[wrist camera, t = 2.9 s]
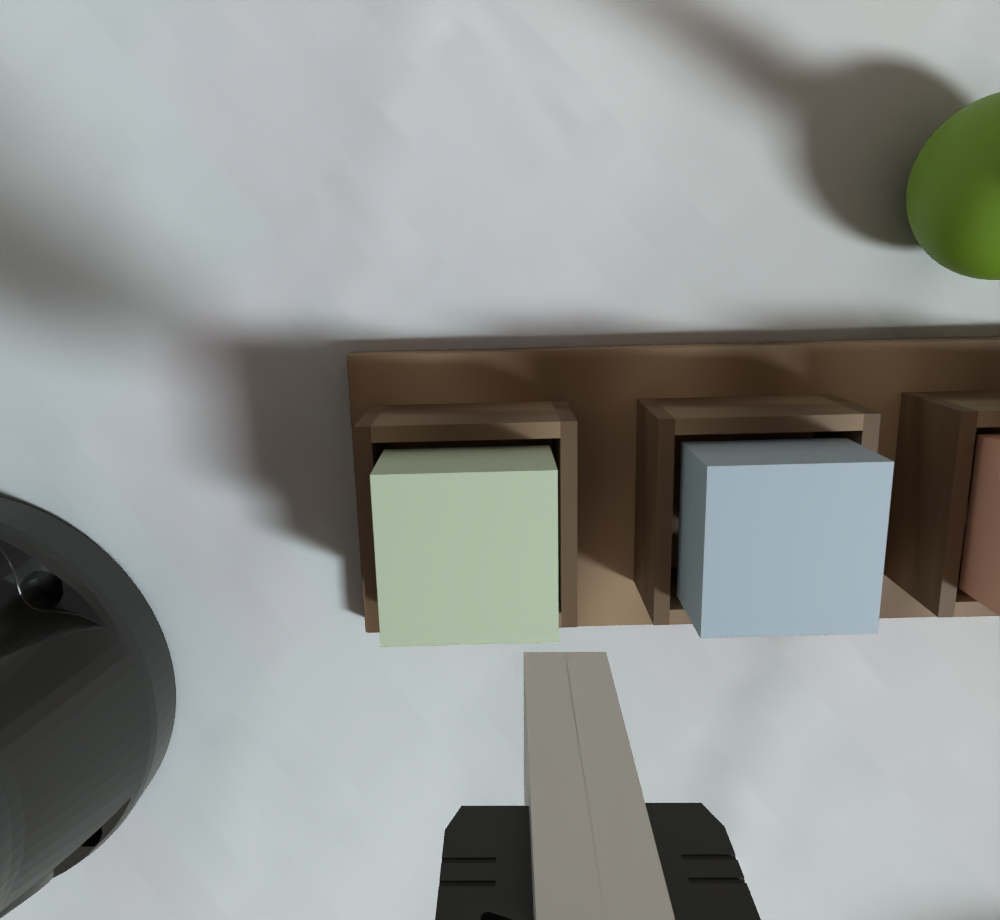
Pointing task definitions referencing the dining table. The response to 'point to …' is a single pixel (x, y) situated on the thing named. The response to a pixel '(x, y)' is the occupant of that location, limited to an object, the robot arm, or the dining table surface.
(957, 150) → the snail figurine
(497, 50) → the dining table surface
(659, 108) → the dining table surface
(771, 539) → the slate key
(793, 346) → the wooden socket tray
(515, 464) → the sage key
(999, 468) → the terracotta key
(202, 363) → the dining table surface
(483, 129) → the dining table surface
